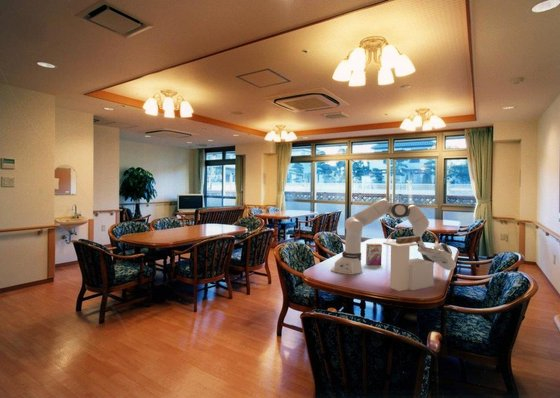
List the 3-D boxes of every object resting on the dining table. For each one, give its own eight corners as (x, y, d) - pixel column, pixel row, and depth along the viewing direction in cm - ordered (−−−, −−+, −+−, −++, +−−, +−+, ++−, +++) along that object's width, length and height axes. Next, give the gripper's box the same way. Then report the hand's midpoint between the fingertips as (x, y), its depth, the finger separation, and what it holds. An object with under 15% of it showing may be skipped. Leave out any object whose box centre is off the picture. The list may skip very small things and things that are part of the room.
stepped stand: (397, 293, 185) (398, 245, 184) (382, 287, 196) (383, 242, 194) (433, 285, 199) (434, 241, 198) (416, 280, 210) (417, 238, 209)
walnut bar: (399, 243, 191) (400, 238, 190) (395, 242, 193) (396, 237, 193) (420, 241, 199) (420, 236, 199) (416, 240, 202) (416, 235, 201)
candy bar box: (367, 265, 251) (368, 244, 250) (365, 263, 256) (366, 243, 255) (381, 265, 251) (382, 244, 251) (379, 263, 256) (379, 243, 256)
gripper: (426, 249, 220) (414, 240, 214) (454, 255, 202) (442, 245, 196) (423, 257, 219) (411, 249, 213) (451, 264, 200) (438, 255, 195)
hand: (426, 247), depth 204 cm, fingers open, 8 cm apart
